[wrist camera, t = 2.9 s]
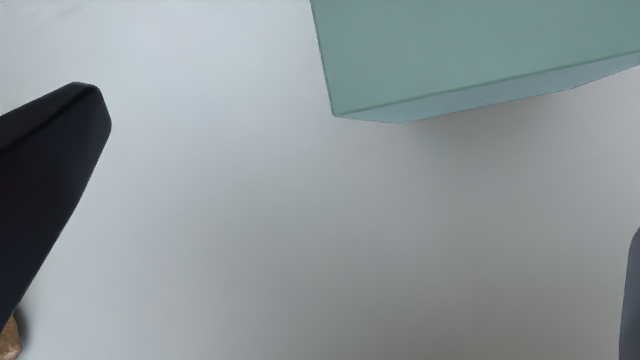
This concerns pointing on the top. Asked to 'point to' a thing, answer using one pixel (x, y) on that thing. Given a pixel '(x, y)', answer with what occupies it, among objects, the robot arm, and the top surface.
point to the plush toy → (10, 341)
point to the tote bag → (466, 52)
